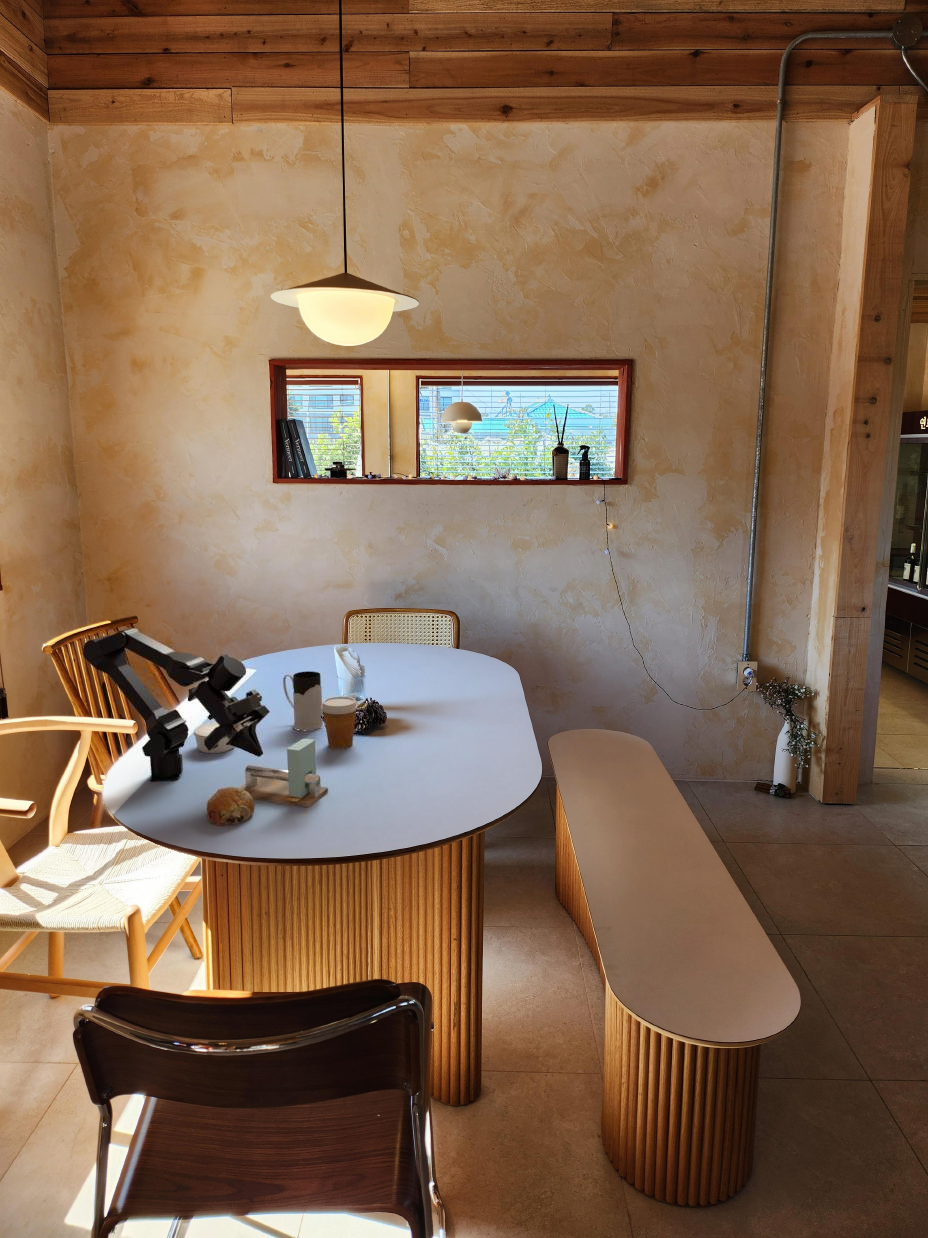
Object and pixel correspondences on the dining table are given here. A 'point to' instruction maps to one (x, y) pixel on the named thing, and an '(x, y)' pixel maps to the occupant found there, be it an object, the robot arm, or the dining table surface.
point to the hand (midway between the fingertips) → (261, 755)
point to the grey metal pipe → (280, 778)
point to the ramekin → (204, 731)
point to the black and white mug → (306, 700)
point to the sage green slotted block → (300, 766)
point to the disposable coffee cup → (339, 721)
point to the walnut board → (279, 792)
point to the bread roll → (230, 806)
